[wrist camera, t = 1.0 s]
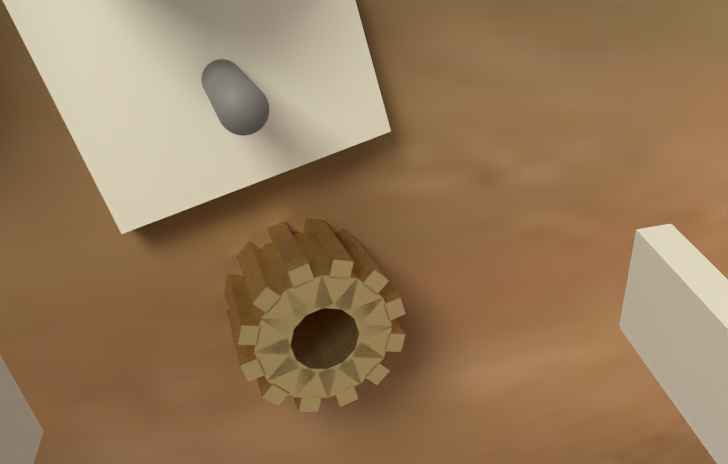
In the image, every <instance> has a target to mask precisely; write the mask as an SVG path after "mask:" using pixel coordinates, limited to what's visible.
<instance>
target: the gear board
mask: <svg viewBox="0 0 728 464" xmlns="http://www.w3.org/2000/svg"><path fill="white" fill-rule="evenodd" d="M3 2H4V4H5V6H6V8H7V10H8V12H9V14H10V16H11V18H12V20H13V22H14V24H15V26H16V28H17V30H18V32H19V34H20V35H21V37H22V39H23V41H24V43H25V45H26V47H27V49H28V51H29V53H30V55H31V57H32V59H33V61H34V63H35V65H36V67H37V69H38V71H39V73H40V75H41V77H42V79H43V81H44V83H45V85H46V87H47V89H48V91H49V92H50V94H51V96H52V98H53V100H54V102H55V104H56V106H57V108H58V110H59V112H60V114H61V116H62V118H63V120H64V122H65V124H66V126H67V128H68V130H69V132H70V134H71V136H72V138H73V140H74V142H75V144H76V146H77V147H78V149H79V151H80V153H81V155H82V157H83V159H84V161H85V163H86V165H87V167H88V169H89V171H90V173H91V175H92V177H93V179H94V181H95V183H96V185H97V187H98V189H99V191H100V193H101V195H102V197H103V199H104V201H105V203H106V204H107V206H108V208H109V210H110V212H111V214H112V216H113V218H114V220H115V222H116V224H117V226H118V228H119V230H120V232H121V234H123V233H126V232H129V231H131V230H134V229H137V228H139V227H142V226H144V225H147V224H150V223H152V222H155V221H158V220H160V219H163V218H165V217H168V216H171V215H173V214H176V213H179V212H181V211H184V210H186V209H189V208H192V207H194V206H197V205H200V204H202V203H205V202H207V201H210V200H213V199H215V198H218V197H220V196H223V195H226V194H228V193H231V192H234V191H236V190H239V189H241V188H244V187H247V186H249V185H252V184H255V183H257V182H260V181H262V180H265V179H268V178H270V177H273V176H276V175H278V174H281V173H283V172H286V171H289V170H291V169H294V168H297V167H299V166H302V165H304V164H307V163H310V162H312V161H315V160H317V159H320V158H323V157H325V156H328V155H331V154H333V153H336V152H338V151H341V150H344V149H346V148H349V147H352V146H354V145H357V144H359V143H362V142H365V141H367V140H370V139H373V138H375V137H378V136H380V135H383V134H386V133H388V132H391V129H390V126H389V122H388V118H387V115H386V111H385V107H384V104H383V100H382V96H381V93H380V89H379V85H378V82H377V78H376V74H375V71H374V67H373V63H372V60H371V56H370V52H369V49H368V45H367V41H366V38H365V34H364V30H363V27H362V23H361V19H360V16H359V12H358V8H357V5H356V1H355V0H3Z"/></svg>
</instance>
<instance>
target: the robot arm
mask: <svg viewBox="0 0 728 464" xmlns="http://www.w3.org/2000/svg"><path fill="white" fill-rule="evenodd" d="M619 328H620V329H621V330H622V332H623V333H624V335H625V336H626V337H627V339H628V340H629V342H630V343H631V344H632V346H633V347H634V349H635V350H636V351H637V353H638V354H639V356H640V357H641V358H642V360H643V361H644V363H645V364H646V365H647V367H648V368H649V370H650V371H651V372H652V374H653V375H654V377H655V378H656V379H657V381H658V382H659V384H660V385H661V386H662V388H663V389H664V390H665V392H666V393H667V395H668V396H669V397H670V399H671V400H672V402H673V403H674V404H675V406H676V407H677V409H678V410H679V411H680V413H681V414H682V416H683V417H684V418H685V420H686V421H687V423H688V424H689V425H690V427H691V428H692V430H693V431H694V432H695V434H696V435H697V437H698V438H699V439H700V441H701V442H702V444H703V445H704V446H705V448H706V449H707V451H708V452H709V453H710V455H711V456H712V458H713V459H714V460H715V462H716V463H717V464H728V280H727V279H726V278H725V277H724V276H723V275H722V274H721V273H720V272H719V271H718V270H717V269H716V268H715V267H714V266H713V265H712V264H711V263H710V262H709V261H708V260H707V259H706V258H705V257H704V256H703V255H702V254H701V253H700V252H699V251H698V250H697V249H696V248H695V247H694V246H693V245H692V244H691V243H690V242H689V241H688V240H687V239H686V238H685V237H684V236H683V235H682V234H681V233H680V232H679V231H678V230H677V229H676V228H675V227H674V226H673V225H672V224H667V225H661V226H655V227H649V228H643V229H637V230H636V234H635V240H634V246H633V251H632V257H631V262H630V268H629V274H628V279H627V285H626V291H625V296H624V302H623V307H622V313H621V319H620V324H619ZM43 432H44V431H43V429H42V428H41V426H40V424H39V422H38V421H37V419H36V417H35V415H34V414H33V412H32V410H31V408H30V407H29V405H28V403H27V401H26V400H25V398H24V396H23V394H22V392H21V391H20V389H19V387H18V385H17V384H16V382H15V380H14V378H13V377H12V375H11V373H10V371H9V370H8V368H7V366H6V364H5V363H4V361H3V359H2V357H1V356H0V464H33V463H34V460H35V457H36V454H37V451H38V448H39V444H40V441H41V438H42V435H43Z"/></svg>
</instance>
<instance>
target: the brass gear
mask: <svg viewBox="0 0 728 464" xmlns="http://www.w3.org/2000/svg"><path fill="white" fill-rule="evenodd" d="M268 232H269V234H270V237H271V239H272V242H271V243H269V244H266V245H265V246H264V247H263V249H262V250H260V249H259V248H258V247H256V246H255V245H253V244H252V243H251V242H248V244H247V245H246V246H245V247H244V248H243V249H242V251H241V252H240V253H239V254H238V255H237V258H238V261H239V264H240V267H241V270H242V273H243V276H237V275H228V276H227V282H226V288H225V295H226V299H227V303H228V307H229V310H228V311H227V313H228V317H229V321H230V325H231V329H232V333H233V338H234V342H235V346H236V350H237V354H238V358H239V362H240V366H241V368H242V370H243V373H244V375H245V377H246V379H247V381H248V382H250V381H252V380H254V379H257V381H258V385H259V388H260V392H261V396H262V398H264V399H266V400H268V401H269V402H271V403H273V404H275V405H276V406H278V405H279V404H280V403H281V402H282V401H283V400H284V399H285V398H286V396H287V395H288V394H290V395H291V396H293V397H294V400H295V403H296V405H297V408H298V411H299V412H318V410H319V406H320V402H321V398H330V397H332V396H334V395H335V396H336V398H337V401H338V403H339V405H340V407H341V406H344V405H346V404H348V403H350V402H353V401H355V400H357V399H358V396H357V393H356V391H355V388H354V386H357V385H359V384H361V383H362V382H363V381H364V380H365V378H367V379H368V380H370V381H371V382H373V383H374V384H376V385H378V384H379V383H380V382H381V380H382V379H383V378H384V377H385V376H386V375H387V374H388V373H389V372H390V370H389V368H388V367H387V365H386V363H385V362H384V360H383V358H384V356H385V352H386V351H392V352H401V349H402V346H403V342H404V338H405V335H406V334H405V333H404V331H403V330H402V329H401V327H400V326H399V324H398V323H397V322H396V320H395V318H398V317H400V316H402V315H404V314H405V310H404V307H403V304H402V300H401V297H400V296H399V295H398V293H397V292H396V291H395V290H394V288H393V287H392V286H391V284H390V283H389V280H388V279H387V277H386V276H385V275H384V274H383V272H382V271H381V270H380V269H379V267H378V266H377V265H376V263H375V262H374V261H373V260H372V258H371V257H370V256H369V255H368V253H367V252H366V251H365V249H364V248H363V247H362V246H361V244H360V243H359V242H358V241H357V239H356V238H355V237H353V236H352V235H351V234H350V233H348V232H347V231H346V230H345V229H342V230H341V231H340V232H339V234H338V235H337V236H335V235H334V233H333V232H332V230H331V229H330V228H329V226H328V225H327V223H326V222H325V221H321V220H313V219H307V220H306V225H305V229H304V233H298V232H296V233H294V234H292V233H291V231H290V229H289V227H288V226H287V224H286V222H283V223H281V224H278V225H276V226H273V227H270V228H268Z"/></svg>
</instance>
